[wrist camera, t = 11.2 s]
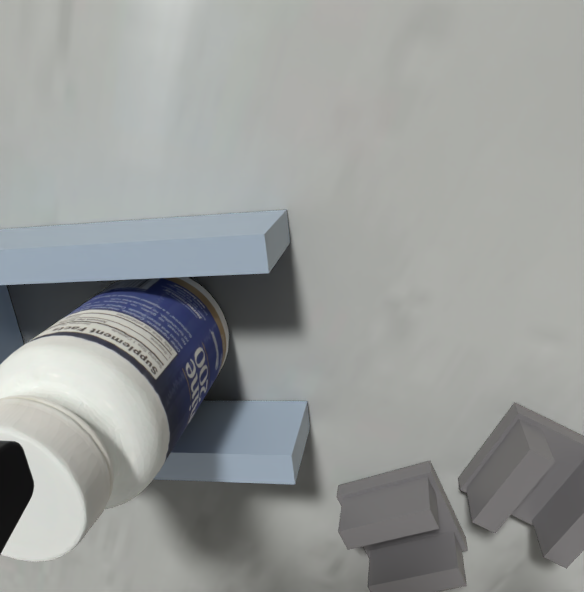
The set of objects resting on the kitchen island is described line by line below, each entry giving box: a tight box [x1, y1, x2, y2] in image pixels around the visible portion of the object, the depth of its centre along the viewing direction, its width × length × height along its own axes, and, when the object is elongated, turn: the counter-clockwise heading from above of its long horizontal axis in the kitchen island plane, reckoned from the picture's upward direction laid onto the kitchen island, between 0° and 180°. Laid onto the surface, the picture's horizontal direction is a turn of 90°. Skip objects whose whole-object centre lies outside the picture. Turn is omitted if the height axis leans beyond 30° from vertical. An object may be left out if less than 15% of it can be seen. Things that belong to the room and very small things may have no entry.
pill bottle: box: [0, 277, 229, 562], centre depth 17 cm, size 5×5×10 cm
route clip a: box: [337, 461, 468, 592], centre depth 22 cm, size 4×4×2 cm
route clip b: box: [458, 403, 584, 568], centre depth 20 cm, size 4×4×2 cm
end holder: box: [0, 210, 310, 485], centre depth 20 cm, size 13×9×4 cm
